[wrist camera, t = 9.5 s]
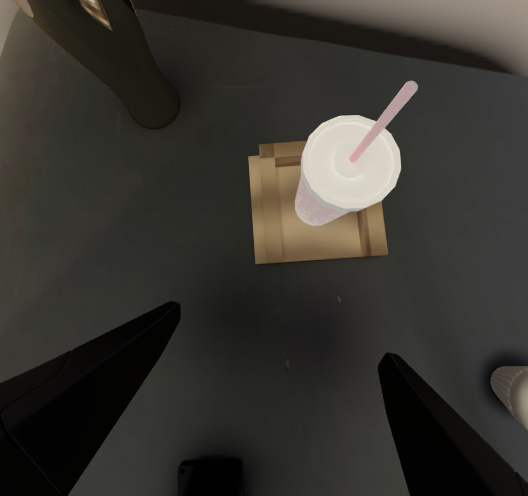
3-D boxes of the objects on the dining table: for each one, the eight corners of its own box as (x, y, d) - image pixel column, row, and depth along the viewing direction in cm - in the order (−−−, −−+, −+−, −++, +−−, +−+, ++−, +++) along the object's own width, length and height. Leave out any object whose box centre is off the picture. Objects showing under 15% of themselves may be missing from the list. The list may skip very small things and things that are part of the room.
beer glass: (187, 126, 23) (38, -126, 8) (130, 137, 23) (-122, -93, 8) (178, 74, 24) (24, -252, 9) (123, 85, 24) (-125, -220, 9)
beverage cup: (294, 238, 21) (349, 185, 7) (282, 184, 21) (308, 30, 7) (350, 226, 21) (522, 147, 7) (336, 172, 21) (468, -5, 7)
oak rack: (382, 255, 21) (401, 253, 18) (256, 264, 22) (254, 264, 19) (369, 151, 22) (385, 134, 19) (249, 161, 23) (246, 145, 20)
